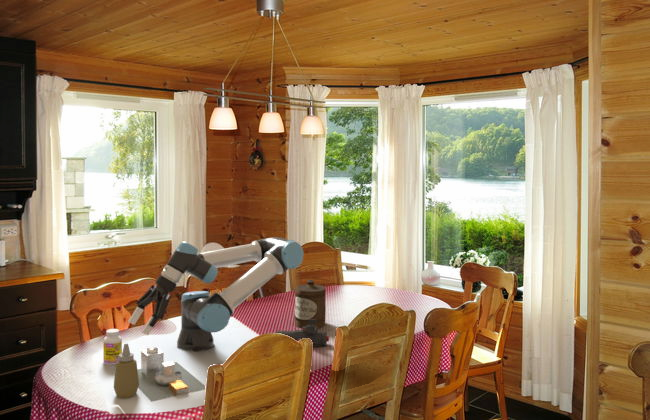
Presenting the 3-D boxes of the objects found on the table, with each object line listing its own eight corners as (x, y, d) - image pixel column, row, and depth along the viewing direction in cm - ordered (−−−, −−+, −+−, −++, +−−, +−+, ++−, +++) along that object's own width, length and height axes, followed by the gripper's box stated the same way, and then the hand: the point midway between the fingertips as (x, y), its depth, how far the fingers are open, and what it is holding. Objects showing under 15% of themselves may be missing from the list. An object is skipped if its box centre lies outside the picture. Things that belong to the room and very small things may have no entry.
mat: (176, 363, 227) (176, 361, 226) (208, 390, 202) (208, 388, 202) (124, 373, 215) (124, 371, 215) (151, 403, 191) (151, 401, 191)
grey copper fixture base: (151, 379, 208) (151, 362, 208) (175, 374, 213) (175, 357, 213) (169, 397, 194) (169, 378, 193) (194, 391, 199) (194, 373, 199)
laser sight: (278, 340, 258) (278, 318, 257) (328, 342, 257) (329, 320, 256) (275, 347, 249) (275, 324, 248) (328, 349, 248) (328, 326, 247)
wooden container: (288, 325, 281) (289, 280, 279) (306, 318, 293) (307, 275, 291) (313, 331, 272) (314, 284, 270) (331, 323, 284) (332, 279, 282)
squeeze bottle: (108, 398, 193) (107, 346, 191) (124, 389, 201) (124, 338, 199) (128, 403, 190) (127, 349, 188) (144, 393, 198) (144, 342, 196)
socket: (157, 368, 219) (157, 345, 218) (163, 373, 214) (163, 349, 213) (141, 371, 216) (141, 347, 215) (146, 377, 211) (146, 352, 210)
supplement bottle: (102, 366, 221) (102, 333, 220) (104, 360, 228) (103, 328, 226) (121, 365, 223) (121, 332, 222) (122, 359, 229) (122, 327, 228)
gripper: (148, 267, 232) (117, 315, 226) (175, 281, 212) (142, 334, 207) (163, 276, 236) (133, 323, 231) (190, 291, 217) (159, 342, 211)
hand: (137, 328), depth 219 cm, fingers open, 13 cm apart
